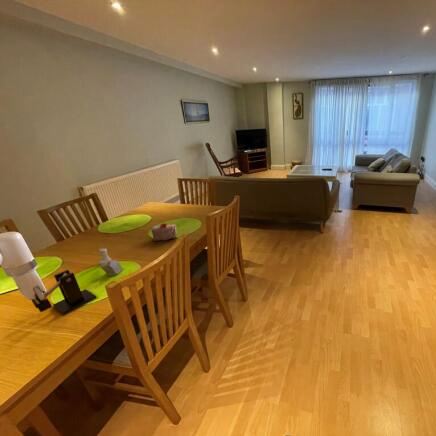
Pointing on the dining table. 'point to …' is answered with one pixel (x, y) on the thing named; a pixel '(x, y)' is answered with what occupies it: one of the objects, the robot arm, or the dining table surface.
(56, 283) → the switch lever
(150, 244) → the dining table surface
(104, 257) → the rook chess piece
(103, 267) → the mineral specimen
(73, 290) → the stand
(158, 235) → the food item
